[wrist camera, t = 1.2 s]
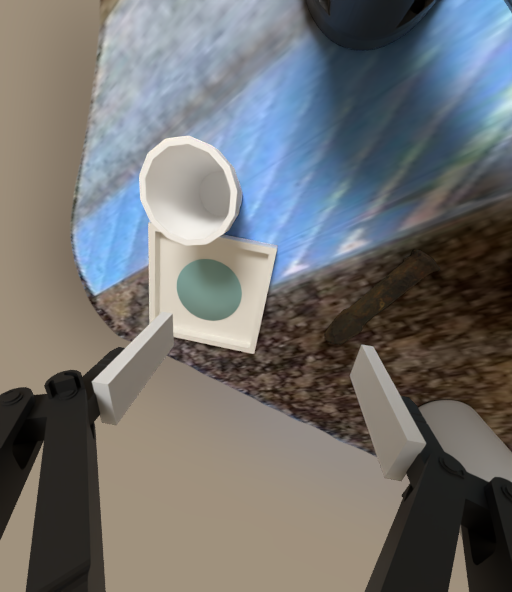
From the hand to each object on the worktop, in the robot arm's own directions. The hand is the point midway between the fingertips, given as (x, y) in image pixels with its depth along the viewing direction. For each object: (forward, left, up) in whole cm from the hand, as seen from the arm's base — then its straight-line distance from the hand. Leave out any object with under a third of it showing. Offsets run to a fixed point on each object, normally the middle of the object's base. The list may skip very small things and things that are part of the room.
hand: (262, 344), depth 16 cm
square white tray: (+7, -9, -23) cm, 25 cm away
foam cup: (-8, -9, -23) cm, 26 cm away
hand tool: (+3, +17, -23) cm, 28 cm away
